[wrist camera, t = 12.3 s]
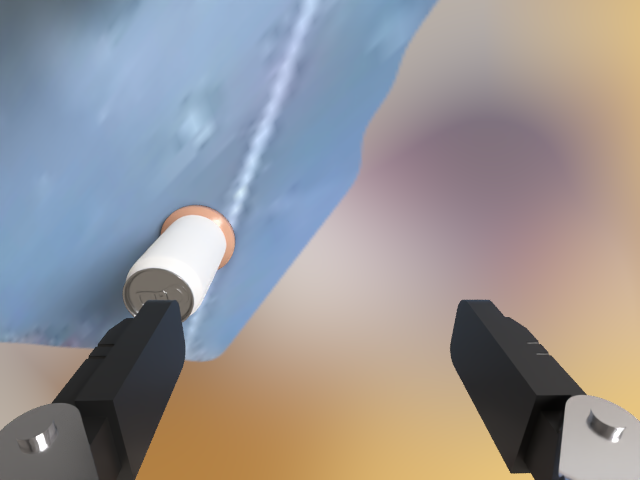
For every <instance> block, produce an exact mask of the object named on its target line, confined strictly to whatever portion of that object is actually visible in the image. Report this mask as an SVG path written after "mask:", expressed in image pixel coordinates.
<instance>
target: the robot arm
mask: <svg viewBox="0 0 640 480" xmlns="http://www.w3.org/2000/svg"><path fill="white" fill-rule="evenodd" d="M450 353H451V359H452V362H453V365H454V367H455V369H456V371H457V373H458V375H459V376H460V379H461V380H462V382H463V384H464V386H465V388H466V390H467V392H468V394H469V395H470V397H471V399H472V401H473V403H474V405H475V407H476V409H477V411H478V413H479V414H480V416H481V418H482V420H483V422H484V424H485V426H486V428H487V429H488V431H489V433H490V435H491V437H492V439H493V441H494V443H495V445H496V446H497V448H498V450H499V452H500V454H501V456H502V458H503V460H504V461H505V463H506V465H507V467H508V469H509V471H510V473H531V474H532V476H533V477H534V479H535V480H640V421H639V420H638V419H636V418H635V417H634V416H633V415H632V414H630V413H629V412H628V411H626V410H625V409H623V408H621V407H620V406H618V405H616V404H614V403H612V402H610V401H607V400H605V399H602V398H598V397H595V396H589V395H586V393H585V392H584V391H583V390H582V389H581V388H580V387H579V386H578V385H577V383H576V382H575V381H574V380H573V379H572V378H571V377H570V376H569V375H568V373H566V371H565V370H564V369H563V368H562V367H561V366H560V365H559V364H558V363H557V361H556V360H555V359H554V358H553V357H552V356H550V355H549V354H548V352H547V350H546V349H545V348H544V347H543V346H542V345H541V344H539V343H538V340H537V339H536V338H535V337H534V336H533V335H532V334H531V333H530V332H529V330H527V328H525V327H524V326H522V325H521V324H519V323H518V322H516V321H514V320H513V319H511V318H510V317H504V316H503V314H502V313H501V312H500V311H499V310H498V308H497V307H495V305H494V304H493V303H492V302H491V301H490V300H461V301H460V303H459V305H458V309H457V313H456V318H455V324H454V329H453V334H452V339H451V344H450ZM184 360H185V340H184V333H183V327H182V320H181V313H180V307H179V303H178V302H177V300H147V301H146V302H145V303H144V305H143V306H142V307H141V309H140V310H139V312H138V313H137V314H136V316H135V317H134V318H126V319H124V320H123V321H121V322H120V323H119V324H117V325H116V326H114V327H113V328H111V329H110V330H109V331H108V332H107V333H106V335H105V336H104V337H103V338H102V340H101V341H100V342H99V343H98V347H95V349H94V350H93V351H92V353H91V354H90V355H89V358H88V359H86V360H85V361H84V363H83V364H82V365H81V366H80V368H79V369H78V370H77V372H76V373H75V374H74V375H73V377H72V378H71V379H70V380H69V382H68V383H67V384H66V385H65V387H64V388H63V389H62V390H61V392H60V393H59V394H58V396H57V397H56V398H55V399H54V401H53V402H52V403H51V404H48V405H44V406H40V407H37V408H35V409H32V410H30V411H28V412H26V413H24V414H22V415H21V416H19V417H17V418H16V419H14V420H13V421H11V422H10V423H9V424H7V425H6V426H5V427H4V428H3V429H2V430H1V431H0V480H135V478H136V476H137V474H138V471H139V469H140V467H141V464H142V462H143V460H144V457H145V455H146V452H147V450H148V448H149V445H150V443H151V441H152V438H153V436H154V434H155V431H156V429H157V426H158V424H159V422H160V420H161V417H162V415H163V412H164V410H165V408H166V405H167V403H168V401H169V398H170V396H171V394H172V391H173V389H174V387H175V384H176V382H177V379H178V377H179V375H180V372H181V370H182V368H183V364H184Z"/></svg>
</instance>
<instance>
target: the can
mask: <svg viewBox="0 0 640 480" xmlns="http://www.w3.org/2000/svg"><path fill="white" fill-rule="evenodd" d="M225 250H226V239H225V236H224V234H223V232H222V230H221V229H220V227H219V226H218V225H217V224H216V223H215V222H213V221H212V220H210V219H208V218H206V217H203V216H199V215H187V216H183V217H181V218H179V219H177V220H176V221H175V222H173V223H172V224H171V225H170V226H169V227H168V228H167V229H166V230H165V232H164V233H163V234H162V235H161V236H160V237H159V238H158V239H157V240H156V241H155V242H154V243H153V244H152V245H151V246H150V247H149V249H148V250H147V251H146V252H145V253H144V254H143V255H142V256H141V257H140V258H139V259H138V260H137V262H136V263H135V264H134V265H133V266H132V268H131V269H130V271H129V273H128V275H127V279H126V283H125V285H124V288H123V300H124V303H125V306H126V308H127V309H128V311H129V312H130V313H131V314H132V315H133V316H134V317H135V316H136V314H137V313H138V312H139V310H140V309H141V307H142V306H143V305H144V303H145V302H146V301H147V300H177V302H178V303H179V307H180V313H181V320H182V322H184V321H185V320H186V319H187V318H188V317H189V316H190V315H192V314H193V313H194V312H195V311H196V310H197V309H198V308H199V306H200V305H201V303H202V301H203V299H204V297H205V295H206V293H207V291H208V289H209V286H210V284H211V282H212V280H213V278H214V276H215V274H216V271H217V269H218V267H219V265H220V263H221V260H222V258H223V256H224V253H225Z"/></svg>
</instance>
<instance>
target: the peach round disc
mask: <svg viewBox="0 0 640 480" xmlns="http://www.w3.org/2000/svg"><path fill="white" fill-rule="evenodd" d="M187 215H199V216H203V217H206V218H208V219H210V220H212V221H213V222H215V223H216V224H217V225H218V226H219V227H220V229H221V230H222V232H223V234H224V236H225V239H226V250H225V253H224V256H223V258H222V260H221V263H220V265H219V267H218V269H220V268H222V267H223V266H224V265H225V264H226V263H227V262H228V261H229V260H230V258H231V256H232V254H233V251H234V248H235V234H234V231H233V228H232V226H231V224H230V223H229V221H228V220H227V219H226V218H225V217H224V216H223V215H222V214H221V213H219V212H218V211H216V210H214V209H212V208H210V207H207V206H202V205H189V206H185V207H182V208H180V209H177V210H176V211H175V212H173V213H172V214H171V215H170V216H169V217H168V218H167V219H166V221H165V222H164V224H163V227H162V230H161V235H162V234H163V233H164V232H165V230H166V229H167V228H168V227H169V226H170V225H171V224H172V223H173V222H175V221H176V220H177V219H179V218H181V217H183V216H187ZM218 269H217V270H218Z"/></svg>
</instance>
